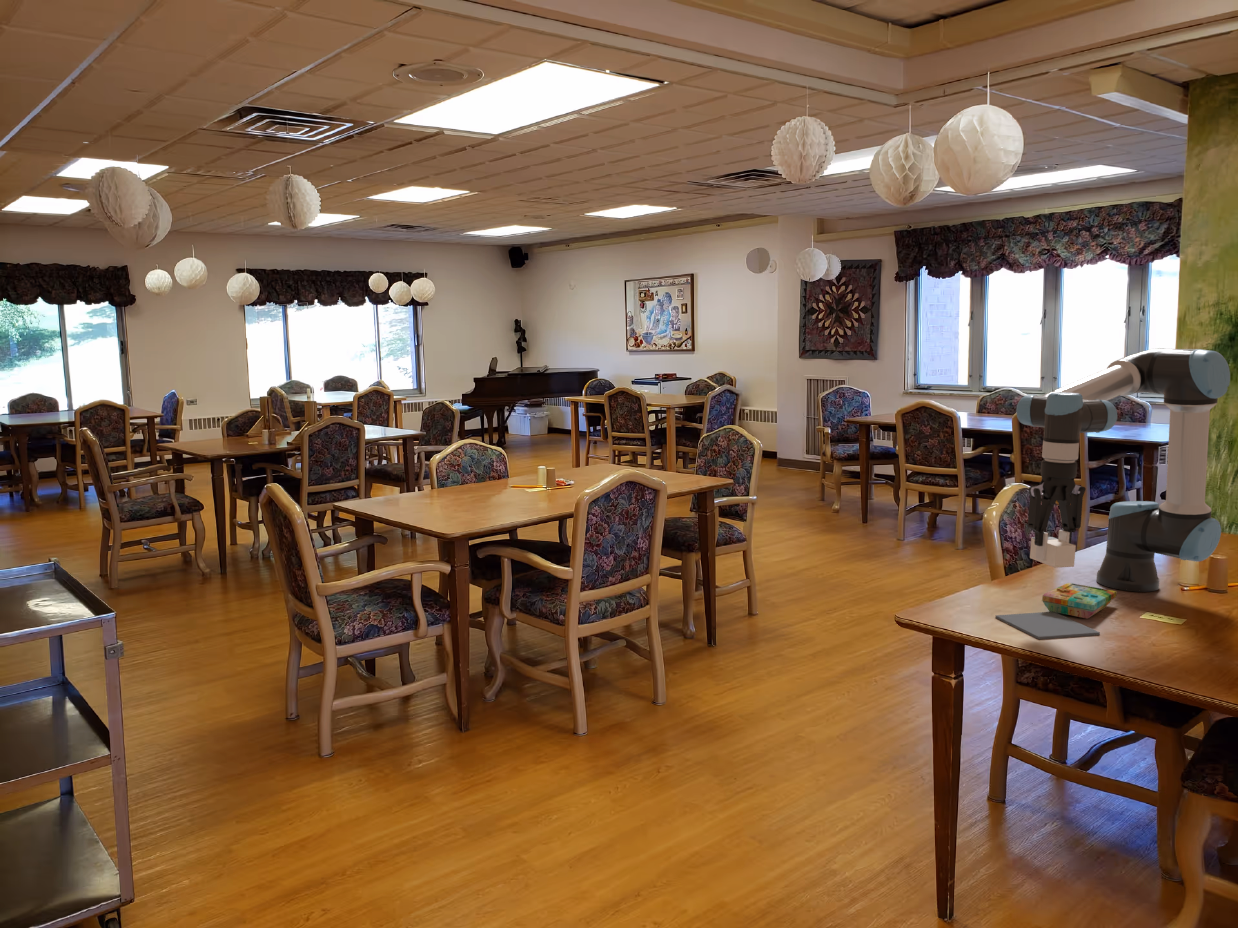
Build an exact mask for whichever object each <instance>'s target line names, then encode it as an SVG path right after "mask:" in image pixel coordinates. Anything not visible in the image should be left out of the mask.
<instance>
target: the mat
mask: <svg viewBox="0 0 1238 928" xmlns="http://www.w3.org/2000/svg"><path fill="white" fill-rule="evenodd" d="M995 619H997V620H999V621H1001V622H1003V623H1005V624H1007V625H1009V626H1011V627H1013V628H1015V629H1017V630H1019V631H1021V632H1023V633H1024V634H1027V635H1028V636H1030V637H1033V638H1035V639H1037V640H1047V639H1062V638H1063V639H1064V638H1075V637H1076V638H1077V637H1086V636H1087V637H1089V636H1100V633H1101V632H1100V631H1098V630H1097V629H1094V628H1091V627H1089V626H1086V625H1085V624H1082V623H1080V622H1077V621H1075V620H1073V619H1071V618H1068V617H1067V616H1064V615H1063V614H1061V613H1057V612H1052V611H1042V612H1027V613H1026V612H1025V613H1011V614H998V615H997V614H996V615H995Z"/></svg>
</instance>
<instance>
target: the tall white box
mask: <svg viewBox="0 0 1238 928" xmlns="http://www.w3.org/2000/svg"><path fill="white" fill-rule="evenodd" d="M1034 541H1035V536H1034V537H1033V536H1032V537H1031V538H1030V553H1029V558H1030V559H1032V560H1035V561H1037V562H1040V563H1042V564H1044V565H1047V566H1049V567H1052V568H1071V567H1072V568H1073V567H1075V561H1076V547H1077V545H1076V544H1073V543H1071V544H1070V543H1067V542H1064V541H1061V540H1058V538H1057V537H1053V536H1048V543H1047V553H1046V561H1042V560H1040V559H1037V558H1036V546H1037V545H1035V543H1034Z"/></svg>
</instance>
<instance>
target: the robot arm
mask: <svg viewBox="0 0 1238 928" xmlns="http://www.w3.org/2000/svg"><path fill="white" fill-rule="evenodd" d="M1228 363H1229V362H1227V360H1226V358H1225V357H1224V356H1223V355H1222V354H1221V353H1219V351H1215V350H1208V349H1202V348H1160V347H1159V348H1151V349H1147V350H1142V351H1139V352H1136V353H1132V354H1130V355H1127V356H1124V357H1122V358H1119V359H1117V360H1115V361H1112V362H1111V363H1110V364H1109V365H1108V366H1107V367H1106V368H1105V369H1103V370H1100V371H1098V372H1096V373H1093V374H1090V375H1088V376H1087V377H1084V378H1081V379H1079V380H1077V381H1074V382H1071V383H1070V384H1066V385H1065V386H1062V387H1059V388H1057V389H1055V390H1052V391H1050V392H1047V393H1046V394H1045V393H1044V394H1042V395H1037V394H1032V395H1030V394H1027V395H1024V396H1022V397H1021V398H1020V400H1019V401H1018V403H1017V405H1016V409H1015V410H1016V411H1015V412H1016V418H1017V420H1018V422H1019V423H1021V424H1023V425H1025V426H1030V427H1033V428H1036V427H1038V428H1043V429H1044V430H1043V440H1042V450H1041V451H1042V453H1041V457H1042V458H1043V460H1042V461H1041V463H1040V475H1041V480H1040V482H1039V485H1036V486H1029V488H1028V493H1029V504H1028V505H1029V506H1028V507H1029V508H1028V516H1027V528H1028V529H1029V530H1032V531H1034V537H1035V541H1034V543H1035V545H1037V546H1036V558H1037V559H1040V560H1042V561H1046V553H1047V543H1048V537H1049V533H1048V532H1046V530H1047V526H1048V523H1049V520H1050V516H1051V514H1052V510H1053V508H1054V505H1056V503H1058V506H1059V514H1060V515H1059V516H1060V521H1061V528H1062V529H1059V530H1058V538H1057V539H1058V540H1061V541H1064V542H1067V543H1070V544H1072V538H1073V537H1072V535H1073V533H1076V531H1077V530H1078V529H1080V528H1082V527H1081V525H1082V512H1083V501H1084V500H1083V498H1084V495H1085V492H1086V491H1087V490H1086V487H1085V486H1082V485H1078V484H1076V482H1075V478H1077V473H1078V463H1077V460H1078V459H1079V450H1080V449H1079V448H1080V437H1081V436H1080V435H1081V434H1082V433H1083V434H1086V433H1087V434H1088V433H1097V434H1098V433H1101V432H1107V431H1109V430H1110V429H1112V428H1113V427H1114V426H1115V424H1116V423H1117V421H1118V411H1117V408H1116V406H1115V405H1114V404H1113V403H1112V402H1110V401H1109V400H1112V399H1115V398H1117V397H1118V396H1123V397H1127V396H1131V395H1133V394H1137V393H1138V394H1139V393H1140V394H1141V393H1142V394H1143V393H1145V394H1157V395H1163V404H1164V405H1165V407H1167V408H1168V409H1169V426H1168V427H1169V428H1168V446H1167V447H1168V448H1167V451H1168V452H1167V466H1166V467H1167V469H1166V471H1167V472H1166V473H1167V474H1166V491H1165V501H1164V502H1162V503H1159V502H1156V501H1149V500H1145V501H1144V500H1135V501H1133V500H1131V501H1127V500H1126V501H1119V502H1115V503H1113V504H1112V505H1111V506H1110V508H1109V510H1110V511H1109V512H1108V513H1109V515H1108V518H1107V519H1108V521H1107V522H1108V524H1107V525H1108V526H1107V535H1106V536H1107V537H1106V547H1105V548H1106V549H1105V555H1104V558H1103V560H1102V562H1101V565H1100V567H1099V570H1098V571H1097V572H1096V580H1095V581H1096V582H1097V583H1098V584H1100V585H1102V586H1104V587H1108V588H1111V589H1116V590H1120V591H1126V592H1138V593H1140V592H1141V593H1144V592H1145V593H1146V592H1148V593H1149V592H1155V591H1157V590H1159V589H1160V578H1159V575H1158V572H1157V571H1158V570H1157V566H1156V563H1155V554H1157V555H1163V556H1167V557H1170V558H1171V557H1172V558H1176V559H1180V560H1182V561H1191V562H1196V563H1197V562H1203V561H1205V560H1207V559H1208V558H1209V557H1210V556H1211V555H1212V554H1213V553H1214V552H1215V551H1216V549H1217V547H1218V545H1219V542H1220V539H1221V534H1222V526H1221V523H1220V521H1218V520H1217V519H1215V517H1214V518H1213V517H1212V507H1210V506H1209V505H1208V504H1207V503H1206V490H1207V489H1206V488H1207V487H1206V486H1207V467H1208V452H1209V434H1210V433H1209V430H1210V415H1211V413H1210V412H1211V409H1213V408H1214V407H1215V406H1217V405H1218V400H1219V398H1221V397H1223V396H1224V395H1225V394H1226V393H1227V391H1228V387H1229V386H1230V384H1231V373H1230V367H1229V364H1228Z"/></svg>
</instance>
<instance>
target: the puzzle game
mask: <svg viewBox="0 0 1238 928" xmlns="http://www.w3.org/2000/svg"><path fill="white" fill-rule="evenodd" d="M1117 594H1118V591H1116V590H1112V589H1105V588H1100V587H1095V586H1090V585H1084V584H1077V583H1073V582H1067V583H1064V584H1063V585H1061V586H1058V587H1056V588H1054V589H1052V590H1049V591H1047V592H1046V593H1043V595H1042V600H1041V601H1042V603H1043V604H1044V606H1045V607H1046V609H1047V610H1048V612H1055V613H1058V614H1061V615H1068V616H1071V617H1078V618H1083V619H1086V620H1087V619H1089V618H1091V617H1092V616H1095V614H1097V613H1099V612H1100V611H1102V610H1104V609H1105V608H1106V607H1107V606H1108V605H1109V604H1111V601H1112V600H1114V599H1115V598H1116V597H1117Z"/></svg>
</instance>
